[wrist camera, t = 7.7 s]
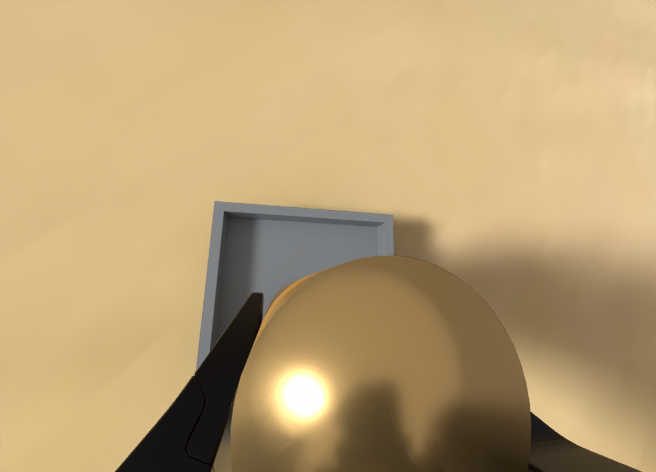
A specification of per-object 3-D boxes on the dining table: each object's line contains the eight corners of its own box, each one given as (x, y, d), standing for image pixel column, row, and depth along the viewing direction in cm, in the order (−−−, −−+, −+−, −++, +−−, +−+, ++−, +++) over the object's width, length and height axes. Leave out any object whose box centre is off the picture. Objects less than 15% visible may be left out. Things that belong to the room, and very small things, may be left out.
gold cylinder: (356, 332, 16) (579, 456, 4) (288, 376, 15) (338, 727, 3) (320, 265, 17) (435, 209, 5) (252, 303, 15) (167, 358, 3)
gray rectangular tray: (373, 403, 20) (400, 436, 16) (208, 415, 18) (186, 457, 13) (370, 228, 23) (392, 214, 18) (227, 219, 20) (214, 201, 16)
